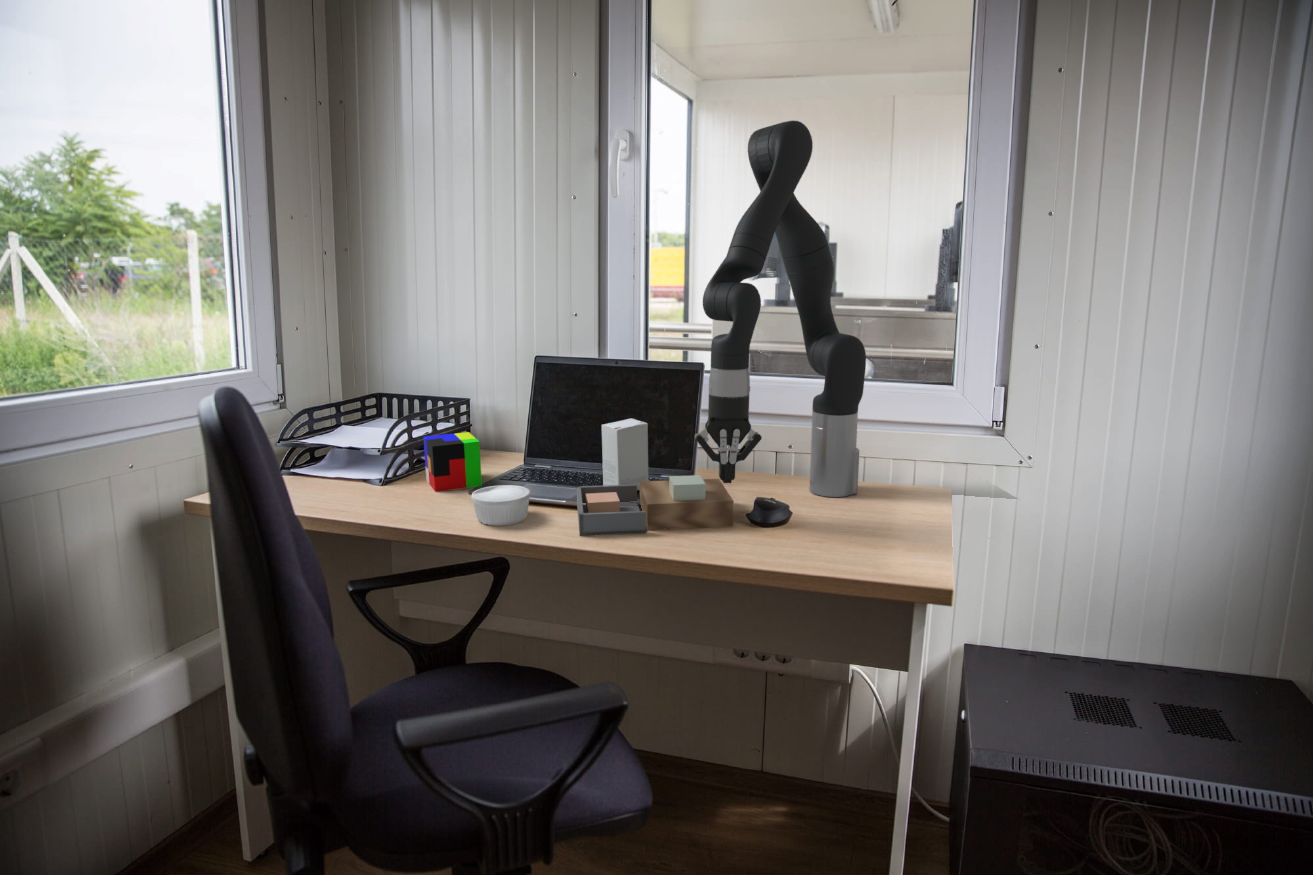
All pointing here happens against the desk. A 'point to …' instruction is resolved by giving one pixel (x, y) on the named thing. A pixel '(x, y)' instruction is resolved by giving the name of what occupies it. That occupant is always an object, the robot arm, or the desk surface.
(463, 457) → the puzzle toy
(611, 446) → the skincare box
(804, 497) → the desk surface
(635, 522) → the box
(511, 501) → the ramekin
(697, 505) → the wooden riser block
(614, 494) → the terracotta tile
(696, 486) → the sage tile
